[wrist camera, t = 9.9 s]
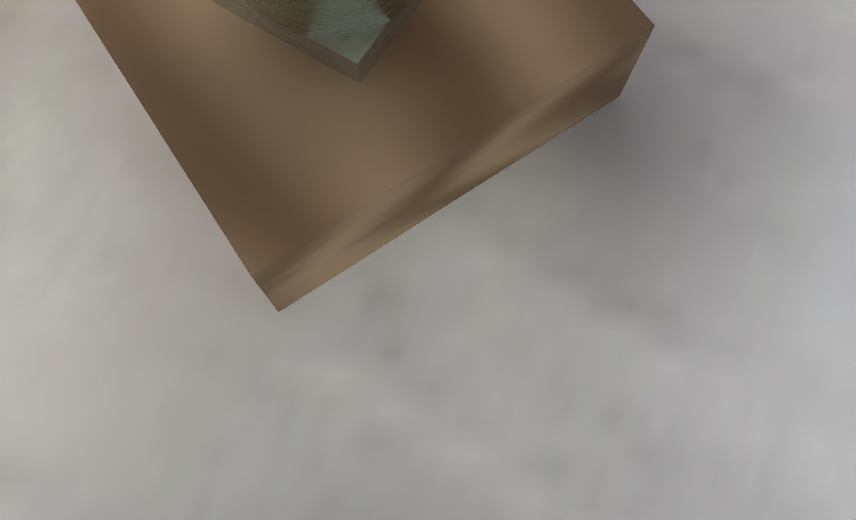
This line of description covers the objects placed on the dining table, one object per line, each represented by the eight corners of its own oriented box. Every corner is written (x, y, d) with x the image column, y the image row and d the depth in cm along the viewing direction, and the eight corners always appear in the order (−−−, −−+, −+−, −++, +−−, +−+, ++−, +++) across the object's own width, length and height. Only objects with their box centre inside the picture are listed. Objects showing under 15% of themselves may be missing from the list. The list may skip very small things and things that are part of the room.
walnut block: (278, 311, 23) (250, 275, 19) (82, 4, 26) (25, -79, 22) (619, 95, 25) (654, 25, 22) (399, -158, 29) (397, -257, 25)
